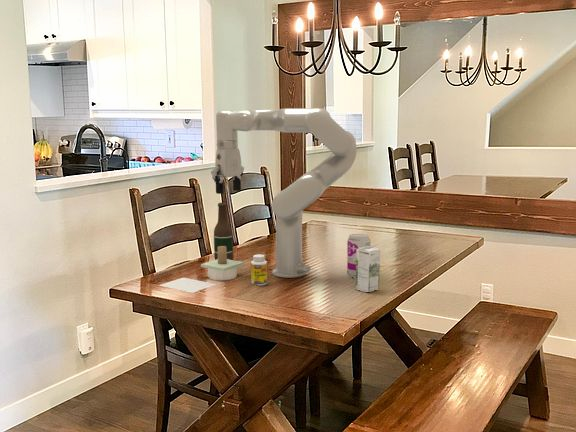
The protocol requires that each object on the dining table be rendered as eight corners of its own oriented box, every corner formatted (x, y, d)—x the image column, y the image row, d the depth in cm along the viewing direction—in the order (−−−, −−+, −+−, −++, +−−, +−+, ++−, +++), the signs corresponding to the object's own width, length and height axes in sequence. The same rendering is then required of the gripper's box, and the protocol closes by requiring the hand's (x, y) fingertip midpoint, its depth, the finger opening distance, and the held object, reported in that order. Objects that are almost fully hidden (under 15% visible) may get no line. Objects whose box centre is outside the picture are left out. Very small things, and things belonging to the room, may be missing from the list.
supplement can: (355, 280, 218) (355, 239, 216) (343, 274, 226) (343, 234, 223) (374, 277, 222) (375, 236, 219) (361, 272, 229) (361, 232, 227)
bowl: (242, 276, 224) (241, 264, 223) (224, 283, 216) (223, 270, 215) (221, 272, 230) (221, 261, 229) (203, 279, 222) (202, 266, 221)
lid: (243, 264, 224) (243, 245, 222) (224, 271, 215) (223, 251, 214) (221, 260, 230) (220, 242, 229) (200, 266, 221) (200, 247, 220)
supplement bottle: (252, 286, 211) (252, 257, 210) (250, 282, 217) (249, 254, 215) (268, 285, 213) (268, 256, 211) (265, 281, 218) (265, 253, 216)
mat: (216, 285, 213) (216, 284, 213) (192, 294, 203) (192, 292, 203) (183, 279, 222) (183, 277, 222) (158, 287, 212) (158, 285, 212)
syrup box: (366, 286, 210) (366, 245, 208) (379, 290, 206) (380, 248, 204) (355, 290, 206) (355, 248, 204) (368, 293, 202) (369, 250, 200)
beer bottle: (230, 265, 242) (228, 204, 237) (211, 264, 243) (209, 204, 239) (236, 260, 249) (234, 201, 245) (217, 259, 251) (215, 201, 246)
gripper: (219, 146, 214) (220, 195, 217) (250, 144, 228) (251, 190, 231) (203, 146, 218) (204, 194, 221) (234, 143, 232) (235, 188, 235)
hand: (228, 192), depth 226 cm, fingers open, 9 cm apart
